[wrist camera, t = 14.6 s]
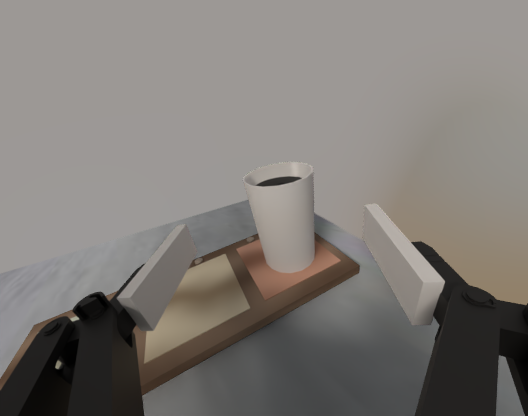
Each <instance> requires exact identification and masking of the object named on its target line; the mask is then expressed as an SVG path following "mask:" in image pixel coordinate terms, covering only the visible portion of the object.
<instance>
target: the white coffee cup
mask: <svg viewBox="0 0 528 416" xmlns="http://www.w3.org/2000/svg"><path fill="white" fill-rule="evenodd" d="M243 181H244V185H245V189H246V192H247V196H248V199H249V203H250V206H251V210H252V214H253V217H254V221H255V224H256V228H257V231H258V235H259V238H260V242H261V245H262V249H263V252H264V256H265V259H266V263H267V264H268V265H269V266H270V267H271V269H273V270H276V271H278V272H281V273H294V272H298V271H302V270H303V269H305V268H307V267H308V266H310V265H311V263H312V262H313V260H314V256H315V245H314V188H313V187H314V186H313V185H314V184H313V167H312V166H310V165H309V164H306V163H301V162H283V163H276V164H271V165H266V166H263V167H260V168H257V169H255V170H253V171H251V172H249V173H247V174H246V175H245V177H244V178H243Z"/></svg>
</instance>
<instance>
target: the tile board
mask: <svg viewBox="0 0 528 416" xmlns="http://www.w3.org/2000/svg"><path fill="white" fill-rule="evenodd" d="M314 245H315V256H314V260H313V262H312V263H311V265H310V266H308V267H307V268H305V269H303V270H302V271H298V272H294V273H281V272H278V271H276V270H273V269H271V267H270V266H269V265H268V264H267V263H266V259H265V256H264V252H263V249H262V245H261V242H260V238H259V235H258V234H256V235H253V236H251V237H248V238H246V239H243V240H241V241H239V242H236V243H234V244H231V245H229V246H226V247H224V248H221V249H219V250H217V251H214V252H212V253H209V254H207V255H204V256H202V257H200V258H197V259H195V260H193V261H192V263H191V264H190V266H189V268H188V270H187V272H186V273H185V275H184V277H183V279H182V281H181V282H180V284H179V286H178V288H177V290H176V291H175V293H174V295H173V297H172V299H171V300H170V302H169V304H168V306H167V308H166V309H165V311H164V313H163V315H162V317H161V318H160V320H159V322H158V324H157V326H156V327H155V329H154V331H141V330H140V329H139V328H138V326H137V325H136V326H135V328H134V329H133V332H134V334H135V338H136V347H137V356H138V365H139V374H140V383H141V392H142V395H144V394H146V393H147V392H149V391H151V390H153V389H154V388H156V387H158V386H160V385H161V384H163V383H165V382H167V381H168V380H170V379H172V378H174V377H176V376H177V375H179V374H181V373H183V372H184V371H186V370H188V369H190V368H191V367H193V366H195V365H197V364H199V363H200V362H202V361H204V360H206V359H207V358H209V357H211V356H213V355H214V354H216V353H218V352H220V351H222V350H223V349H225V348H227V347H229V346H230V345H232V344H234V343H236V342H237V341H239V340H241V339H243V338H244V337H246V336H248V335H250V334H252V333H253V332H255V331H257V330H259V329H260V328H262V327H264V326H266V325H267V324H269V323H271V322H273V321H275V320H276V319H278V318H280V317H282V316H283V315H285V314H287V313H289V312H290V311H292V310H294V309H296V308H298V307H299V306H301V305H303V304H305V303H306V302H308V301H310V300H312V299H313V298H315V297H317V296H319V295H321V294H322V293H324V292H326V291H328V290H329V289H331V288H333V287H335V286H336V285H338V284H340V283H342V282H343V281H345V280H347V279H349V278H351V277H352V276H354V275H356V274H358V273H359V265H358V264H357V263H355V262H354V261H353V260H351V259H350V258H348V257H347V256H346V255H344V254H343V253H342V252H340V251H339V250H338V249H336V248H335V247H334V246H332V245H331V244H330V243H328V242H327V241H325V240H324V239H323V238H321V237H320V236H319V235H317V234H316V233H315V232H314ZM117 292H118V291H117ZM117 292H114V293H112V294H109V295H107V296H106V297H107V299H108V300H109V301H110V300H111V299H112V298H113V296H114V295H115V294H116V293H117ZM62 316H68V317H69V318H70V319H71V320H72V321H75V320H79V318H78V317H77V316H76V315H75V314H74V313H73V312H72V310H70V311H68V312H65V313H63V314H60V315H58V316H56V317H53V318H51V319H48V320H46V321H43V322H41V323H38V324H36V325H34V327H33V328H32V330H31V331H30V333H29V334H28V336H27V338H26V339H25V341H24V342H23V344H22V345H21V347H20V349H19V350H18V352H17V353H16V355H15V356H14V358H13V360H12V361H11V363H10V364H9V366H8V368H7V369H6V371H5V372H4V374H3V375H2V377H1V379H0V390H1V389H2V387H3V386H4V384H5V382H6V381H7V379H8V378H9V376H10V375H11V373H12V372H13V370H14V369H15V367H16V366H17V364H18V362H19V361H20V359H21V358H22V356H23V355H24V353H25V352H26V350H27V349H28V347H29V346H30V344H31V342H32V341H33V339H34V338H35V336H36V335H37V334H38V332H39V331H40V330H41V329H42V328H43V327H44V326H45V325H46V324H48V323H50V322H51V321H52V320H55V319H57V318H59V317H62ZM60 365H61V362H60V361H57V363H56V367H55V368H56V369H59V367H60Z"/></svg>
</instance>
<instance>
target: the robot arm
mask: <svg viewBox="0 0 528 416" xmlns="http://www.w3.org/2000/svg"><path fill="white" fill-rule="evenodd" d="M363 239H364V241H365V243H366V245H367V246H368V248H369V250H370V252H371V253H372V255H373V257H374V259H375V260H376V262H377V264H378V266H379V267H380V269H381V271H382V273H383V275H384V276H385V278H386V280H387V282H388V283H389V285H390V287H391V289H392V290H393V292H394V294H395V296H396V298H397V299H398V301H399V303H400V305H401V306H402V308H403V310H404V312H405V313H406V315H407V317H408V319H409V321H410V322H411V324H412V325H431V323H432V320H433V317H434V318H435V319H436V321H437V322H438V323H439V325H440V326H439V329H438V332H437V334H436V337H435V343H434V347H433V351H432V355H431V358H430V362H429V366H428V369H427V373H426V377H425V380H424V384H423V388H422V391H421V395H420V399H419V402H418V406H417V410H416V413H415V416H496V398H497V378H498V358H499V355H501V356H504V357H506V360H507V363H508V366H509V369H510V372H511V375H512V378H513V381H514V384H515V387H516V390H517V393H518V396H519V399H520V402H521V405H522V408H523V411H524V414H525V416H528V304H527V305H522V304H516V303H511V302H505V301H500V300H496V299H495V298H494V296H492V295H491V294H489V293H488V292H486V291H484V290H482V289H479V288H477V287H473V286H469V285H468V284H467V283H466V282H465V281H464V280H463V279H462V278H461V277H460V276H459V275H458V274H457V273H456V272H455V271H454V270H453V269H452V268H451V267H450V266H449V265H448V264H447V263H446V262H445V261H444V260H443V259H442V258H441V257H440V256H439V255H438V254H437V252H435V250H434V249H433V248H432V247H430V246H428V245H426V244H425V243H423V242H410V241H409V240H408V239H407V238H406V236H405V235H404V234H403V233H402V232H401V231H400V230H399V229H398V227H397V226H396V225H395V224H394V223H393V222H392V220H391V219H390V218H389V217H388V216H387V215H386V214H385V212H384V211H383V210H382V209H381V208H380V207H379V206H378V205H377V204H367V205H365V206H364V221H363ZM197 252H198V251H197V249H196V247H195V244H194V242H193V239H192V237H191V235H190V232H189V230H188V227H187V225H186V224H184V225H177V226H176V227H175V228H174V230H173V231H172V232H171V233H170V235H169V236H168V237H167V238H166V239H165V241H164V242H163V243H162V244H161V245H160V247H159V248H158V249H157V250H156V251H155V253H154V254H153V255H152V256H151V257H150V259H149V260H148V261H147V262H146V263H145V264H143V265H142V266H141V267H139V268H138V269H137V270H136V271H135V272H134V273H133V274H132V275H131V276H130V278H129V279H128V280H127V281H126V283H124V285H123V286H122V287H121V288H120V289H119V291H118V292H117V293H116V294H115V295H114V296H113V298H112V299H111V300H110V301H109V300H108V299H107V297H106V296H105V295H104V294H103V293H102V292H95V293H93V294H90V295H88V296H87V297H85V298H83V299H82V300H81V301H80V302H78V303H77V304H76V306H75V307H74V308H73V310H72V312H73V313H74V314H75V315H76V316H77V317H78V318H79V320H75V321H72V320H71V319H70V318H69V317H68V316H62V317H59V318H57V319H55V320H52V321H51V322H50V323H48V324H46V325H45V326H44V327H43V328H42V329H41V330H40V331H39V332H38V334H37V335H36V336H35V338H34V339H33V341H32V342H31V344H30V346H29V347H28V349H27V350H26V352H25V353H24V355H23V356H22V358H21V359H20V361H19V362H18V364H17V366H16V367H15V369H14V370H13V372H12V373H11V375H10V376H9V378H8V379H7V381H6V382H5V384H4V386H3V387H2V389H1V390H0V416H144V410H143V401H142V392H141V383H140V374H139V365H138V356H137V347H136V338H135V334H134V332H133V329H134V328H135V326H136V325H137V326H138V328H139V329H140V330H141V331H154V329H155V327H156V326H157V324H158V322H159V320H160V318H161V317H162V315H163V313H164V311H165V309H166V308H167V306H168V304H169V302H170V300H171V299H172V297H173V295H174V293H175V291H176V290H177V288H178V286H179V284H180V282H181V281H182V279H183V277H184V275H185V273H186V272H187V270H188V268H189V266H190V264H191V263H192V261H193V259H194V257H195V255H196V254H197ZM57 361H60V362H61V365H60V367H59V369H56V368H55V367H56V363H57Z"/></svg>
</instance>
